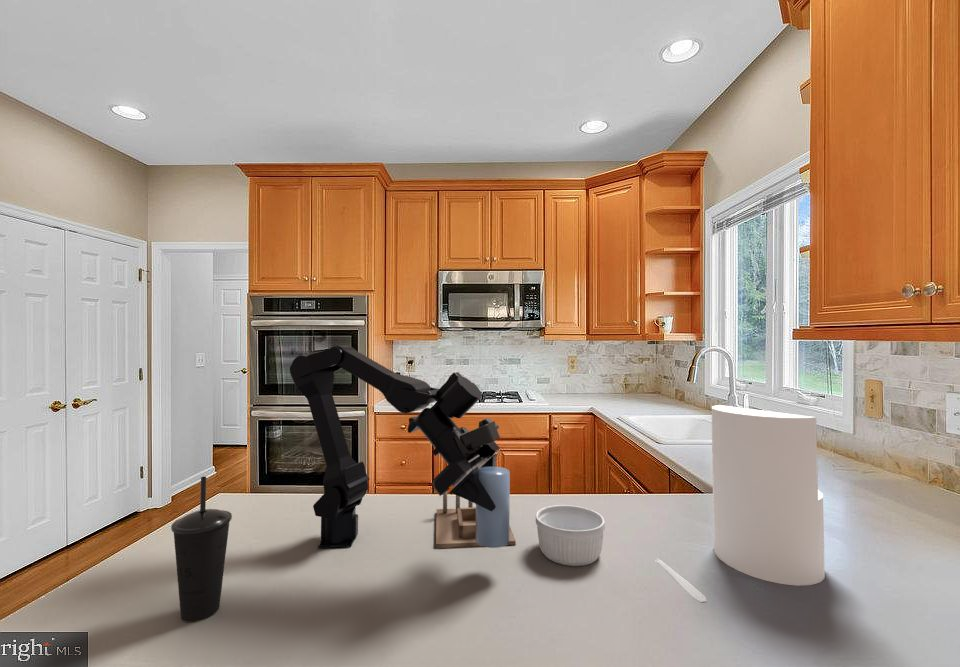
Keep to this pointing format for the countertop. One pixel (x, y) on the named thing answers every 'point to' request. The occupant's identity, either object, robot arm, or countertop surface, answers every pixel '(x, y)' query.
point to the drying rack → (458, 526)
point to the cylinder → (767, 495)
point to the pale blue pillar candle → (494, 523)
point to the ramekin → (570, 534)
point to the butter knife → (683, 583)
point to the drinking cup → (200, 559)
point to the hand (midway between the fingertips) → (499, 503)
